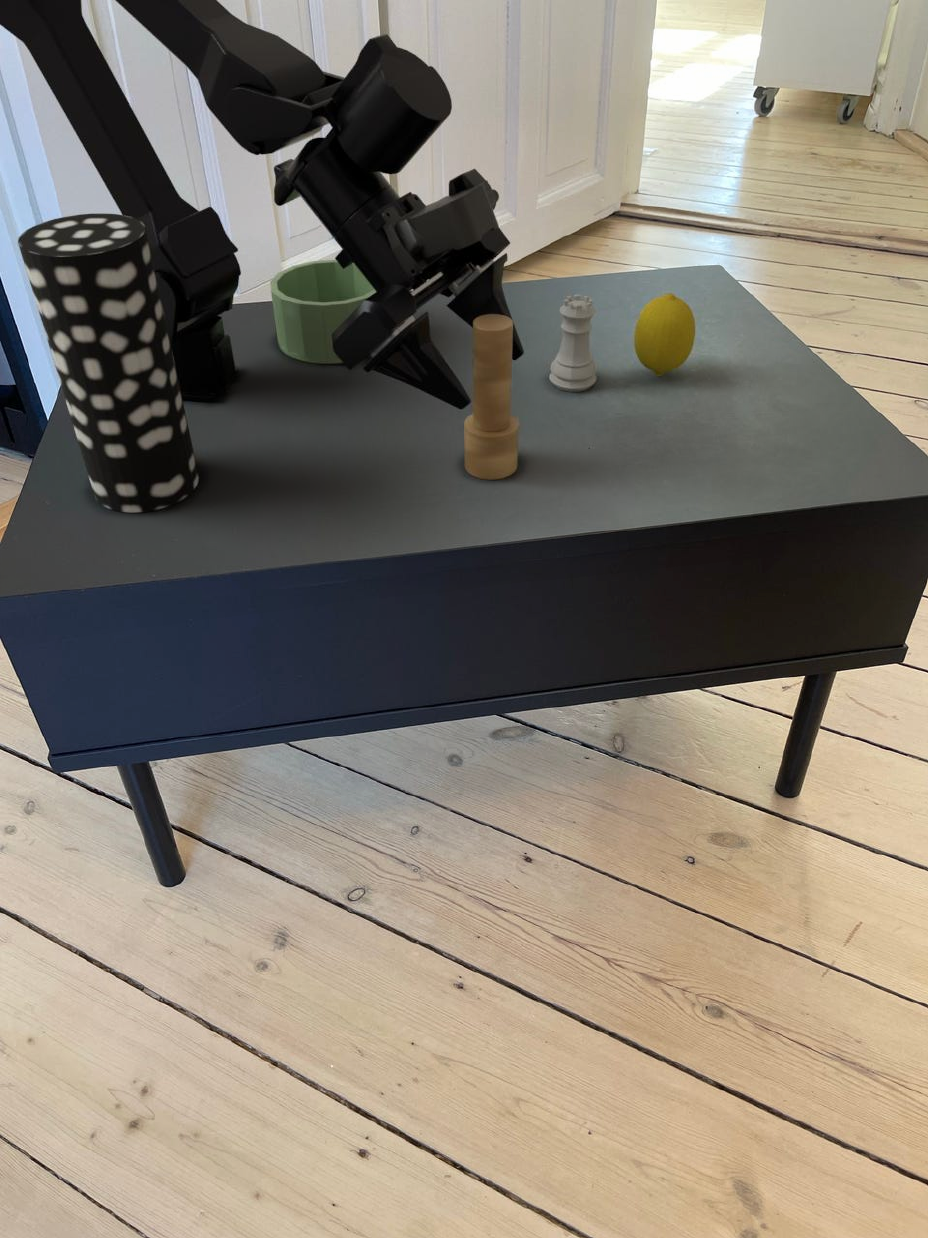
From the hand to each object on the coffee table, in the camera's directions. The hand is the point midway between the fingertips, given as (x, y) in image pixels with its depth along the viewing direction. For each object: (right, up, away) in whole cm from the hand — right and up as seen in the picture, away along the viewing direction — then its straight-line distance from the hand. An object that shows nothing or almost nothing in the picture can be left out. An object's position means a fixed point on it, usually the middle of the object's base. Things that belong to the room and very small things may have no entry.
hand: (494, 380), depth 76 cm
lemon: (+16, +5, +17) cm, 24 cm away
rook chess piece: (+8, +4, +16) cm, 19 cm away
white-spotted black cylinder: (-28, -8, +3) cm, 29 cm away
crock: (-16, +10, +24) cm, 30 cm away
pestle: (0, -6, +5) cm, 8 cm away
